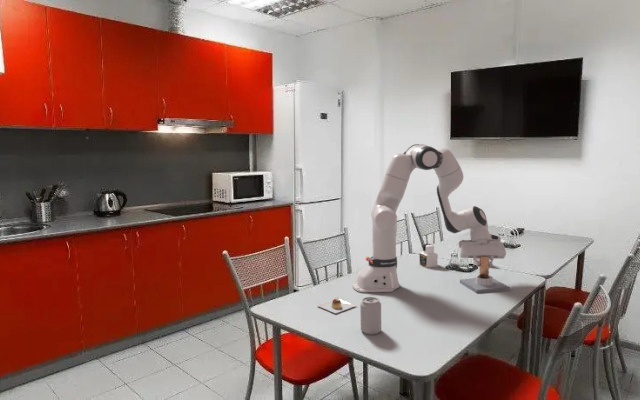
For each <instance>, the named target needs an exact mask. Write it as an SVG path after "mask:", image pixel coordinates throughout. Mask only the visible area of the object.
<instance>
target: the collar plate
mask: <svg viewBox="0 0 640 400" xmlns="http://www.w3.org/2000/svg"><path fill="white" fill-rule="evenodd" d="M459 284H461V285H463V286H464V287H466V288H468V289H469V290H471V291H473V292H475V293H476V294H483V293H492V292H500V291H501V292H502V291H503V292H504V291H510V286H509V285H507V284H505V283H503V282H501V281H499V280H497V279H495V278H494V277H493V276H492V275H490V274H489V278H488V279H482V278H480V274H476V275H475V277H474V278H465V279H464V278H463V279H459Z"/></svg>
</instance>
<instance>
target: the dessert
mask: <svg viewBox="0 0 640 400" xmlns="http://www.w3.org/2000/svg"><path fill="white" fill-rule="evenodd" d="M329 303H330V304H331V306H330V307H331V308H332V309H334V308H335V310H338V309H342V308H341V307H343V306H342V304H344V305H347V306H349V307H348V308H345V309H342V310H340V311H336V312H334V311H332V310H329V309H328V308H325V307H324V306H326V305H329ZM316 306H317V307H319V308H322V309H324V310H326V311H328V312H330V313H333V314H339V313H342V312H344V311H347V310H350V309H352V308H355V307H357V305H356V304H353V303H351V302H348V301H347V300H343V299H341V298H339V296H337V297H335V298H334V299H331V300H329V301H325V302H321V303H319V304H316Z"/></svg>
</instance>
